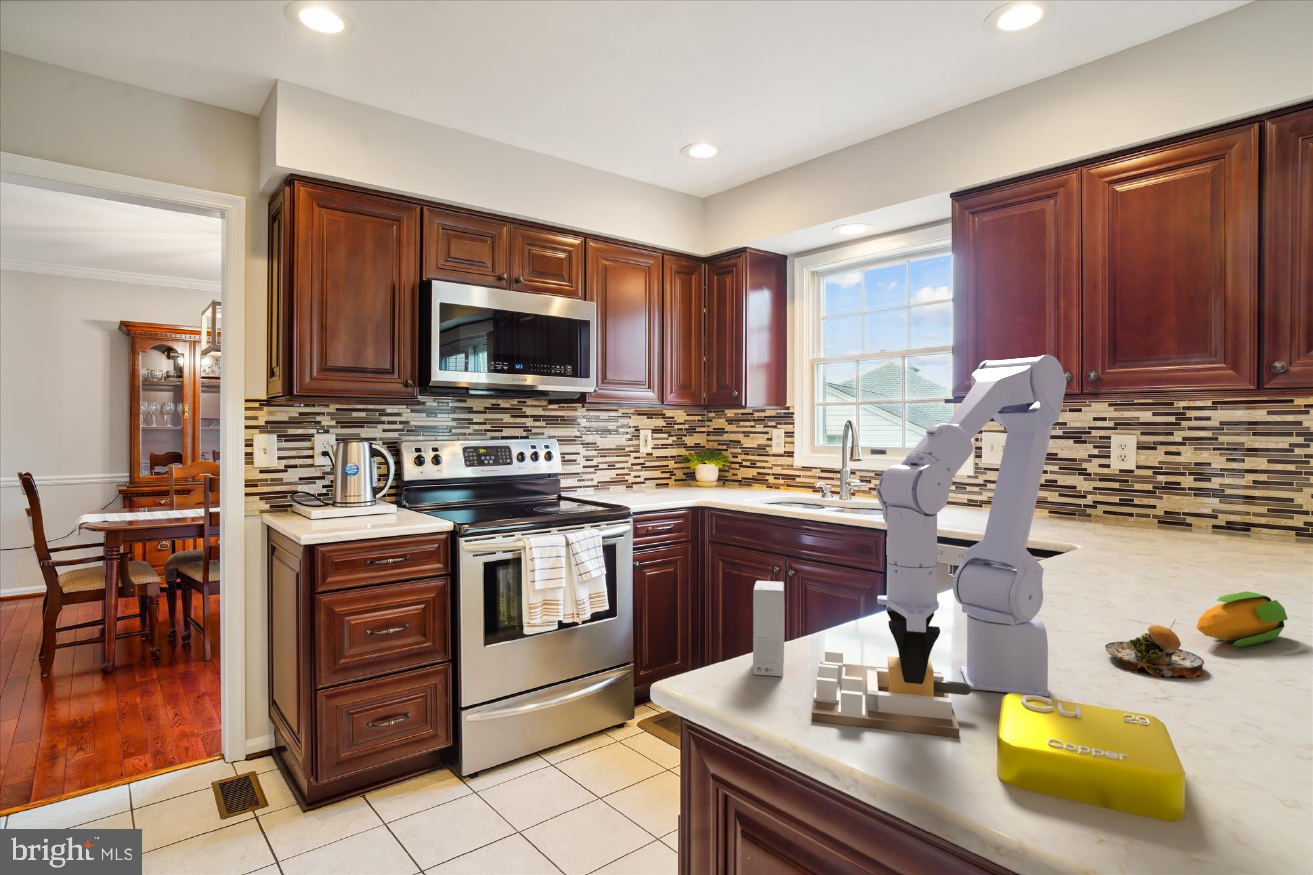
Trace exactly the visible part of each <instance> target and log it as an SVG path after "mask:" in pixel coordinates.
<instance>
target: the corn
mask: <svg viewBox="0 0 1313 875" xmlns="http://www.w3.org/2000/svg"><path fill="white" fill-rule="evenodd" d="M1216 602H1222V603H1220V604H1216V605H1215V606H1213V607H1211V608H1209V609H1207V610H1206V611H1205V612H1204V613H1203V614H1202V615H1201V616H1200V617H1199V618H1198V622H1197V624H1196V629H1197V631H1199V632H1200V633H1201V634H1202V635H1204V636H1205V637H1210V638H1214V639H1215V640H1220V641H1235V642H1233V644H1231V646H1233V647H1237V648H1238V647H1239V648H1242V647H1249V646H1253V645H1257V644H1261V643H1265V642H1268V641H1272V640H1276V639H1278V637H1279V635H1281V633H1282V631H1283V629H1284V628H1285V622H1284V621H1287V620H1288V615H1287V612H1286V610H1285V607H1284V606H1283V605H1282V604H1281V603H1280V602H1279V601H1278V600H1277V599H1275V600H1272V598H1270V597H1269V596H1267V595H1264V594H1260V593H1257V592H1252V591H1241V592H1240V591H1239V592H1235V593H1230V594H1226V595H1221V596H1219V598H1217V599H1216Z"/></svg>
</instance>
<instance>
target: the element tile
mask: <svg viewBox="0 0 1313 875" xmlns="http://www.w3.org/2000/svg"><path fill="white" fill-rule="evenodd" d="M996 773H997V776H998V777H997V778H999V779H1000V781H1001V782H1004V784H1006V785H1009V786H1011V787H1013V788H1017V789H1021V790H1024V791H1027V792H1028V791H1029V792H1033V793H1039V794H1043V795H1046V796H1052V797H1056V798H1061V799H1064V800H1065V799H1066V800H1068V801H1069V800H1070V801H1074V802H1078V803H1082V804H1088V805H1092V806H1096V807H1101V808H1105V809H1110V810H1114V811H1117V812H1123V813H1127V814H1131V815H1137V816H1141V817H1146V818H1150V819H1153V820H1154V819H1155V820H1159V821H1165V822H1178V821H1182V820H1183V819H1185V817H1186V815H1185V814H1186V812H1185V811H1186V772H1185V769H1184V767H1183V764H1182V761H1181V760H1180V758H1179V755H1178V752H1177V750H1176V748H1175V745H1174V743H1173V741H1172V739H1171V736H1170V734H1169V731H1168V728H1167V726H1166V724H1165V723H1164V722H1162V721H1161V720H1160V719H1159V718H1157V717H1156V716H1154V715H1150V714H1146V713H1145V714H1144V713H1139V712H1135V711H1134V712H1133V711H1128V710H1121V709H1120V710H1119V709H1114V708H1111V707H1104V706H1103V707H1102V706H1098V705H1090V704H1086V703H1085V704H1084V703H1080V702H1071V701H1066V700H1060V699H1053V698H1049V697H1046V696H1039V695H1028V694H1018V693H1007V694H1006V695H1004V696H1002V698H1001V705H1000V713H999V719H998V728H997V734H996Z"/></svg>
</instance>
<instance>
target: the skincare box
mask: <svg viewBox="0 0 1313 875" xmlns="http://www.w3.org/2000/svg"><path fill="white" fill-rule="evenodd" d="M752 596H753V599H752V602H753V603H752V609H753V610H752V612H753V613H752V617H753V619H752V620H753V621H752V622H753V624H752V626H753V627H752V632H753V634H752V642H753V643H752V647H753V648H752V650H753V651H752V674H753V675H754V676H755V675H757V676H770V677H783V676H784V662H785V660H784V658H785V583H784V581H772V580H771V581H770V580H756V581H755V584H754V586H753V594H752Z"/></svg>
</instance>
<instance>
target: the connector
mask: <svg viewBox="0 0 1313 875" xmlns="http://www.w3.org/2000/svg"><path fill="white" fill-rule="evenodd" d="M887 668H888V692H892V693H902V694H912V695H922V696H932V697H934V692H938V693H948V695H949V694H950V695H959V696H969V695H970V694H971V693H972V689H971V687H970V685H969V684H967V683H966V682H962V681H961V682H960V681H950V680H944V681H940V680H934V672H935V671H934V668H933V665H932V662H931V659H929V660H928V665H927V670H926V675H925V679H924V682H923V684H915V683H905V682H904V679H903V675H902V670H901V664H900V657H899V656H891V655H889V656H887Z"/></svg>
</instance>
